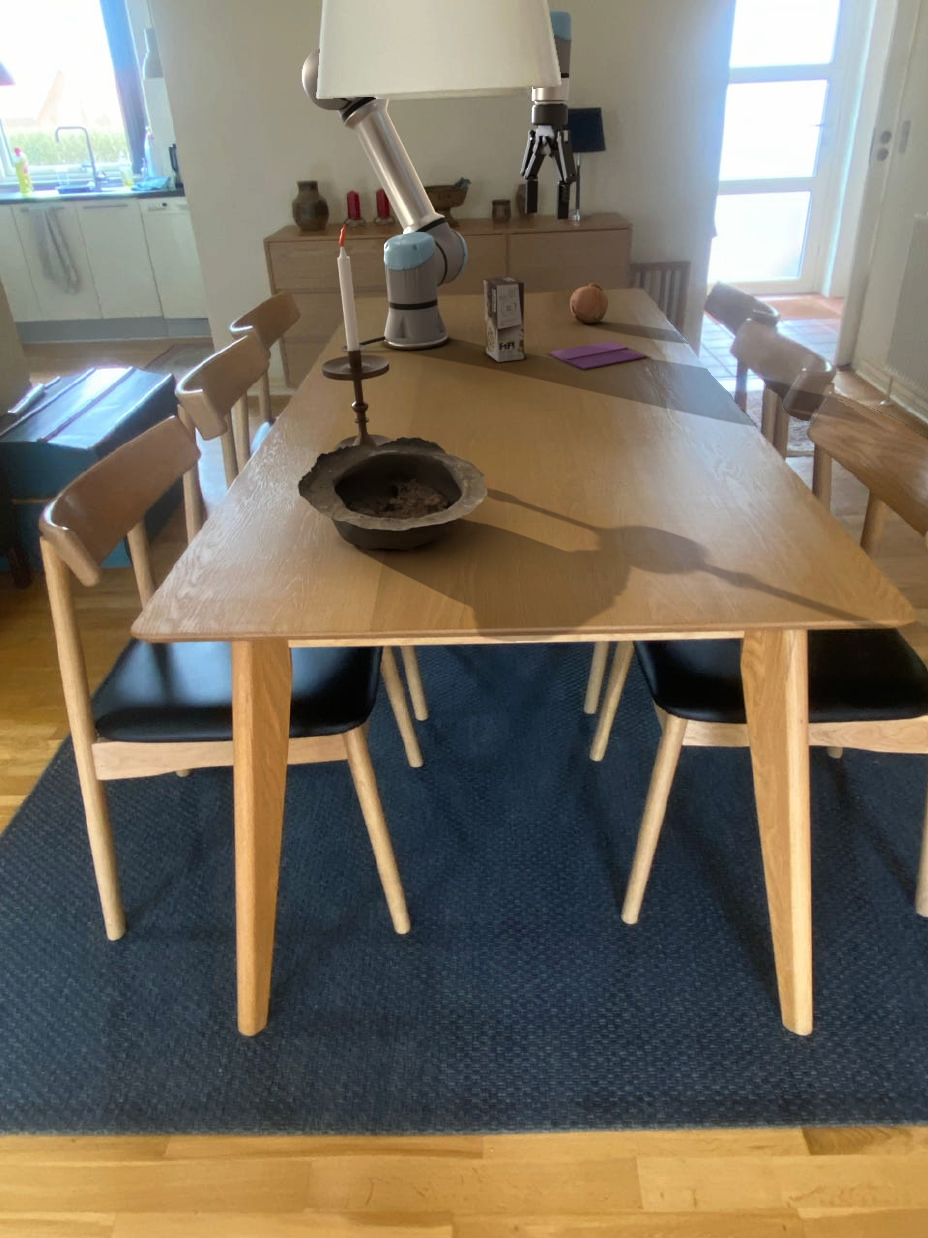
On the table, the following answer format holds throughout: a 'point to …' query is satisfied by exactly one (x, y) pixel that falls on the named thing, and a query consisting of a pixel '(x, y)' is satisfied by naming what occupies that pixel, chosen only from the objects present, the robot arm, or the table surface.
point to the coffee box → (504, 318)
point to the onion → (589, 304)
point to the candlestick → (354, 358)
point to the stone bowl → (393, 492)
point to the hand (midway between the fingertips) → (546, 215)
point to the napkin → (597, 355)
